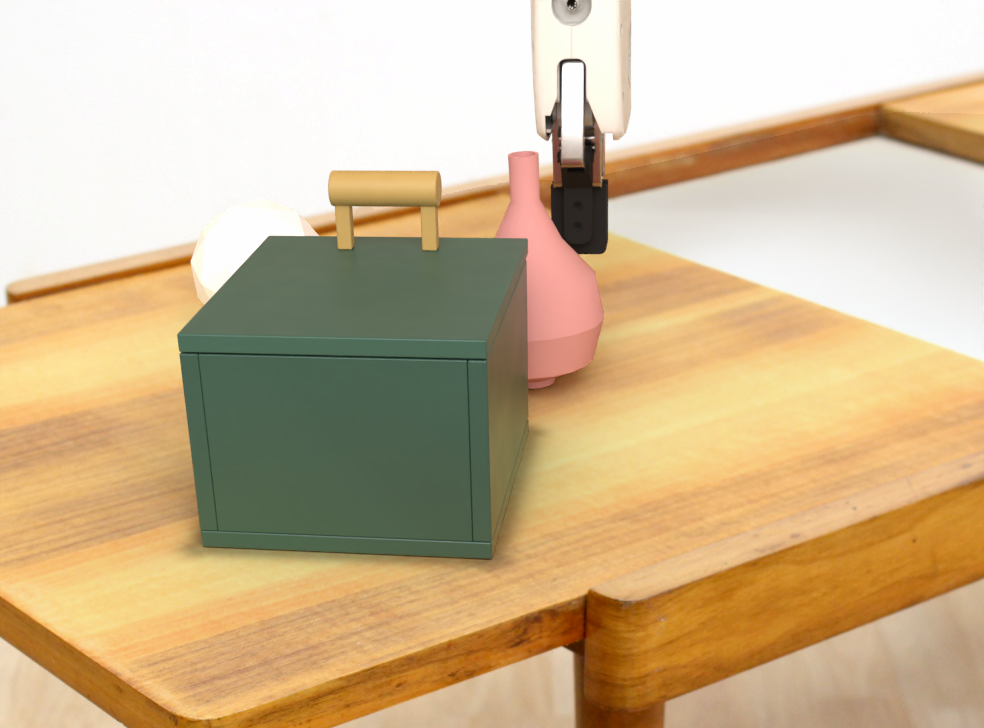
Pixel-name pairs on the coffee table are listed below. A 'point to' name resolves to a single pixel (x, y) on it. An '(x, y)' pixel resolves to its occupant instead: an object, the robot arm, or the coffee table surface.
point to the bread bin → (359, 447)
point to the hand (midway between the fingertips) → (580, 249)
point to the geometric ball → (239, 240)
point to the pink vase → (551, 282)
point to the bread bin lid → (365, 285)
